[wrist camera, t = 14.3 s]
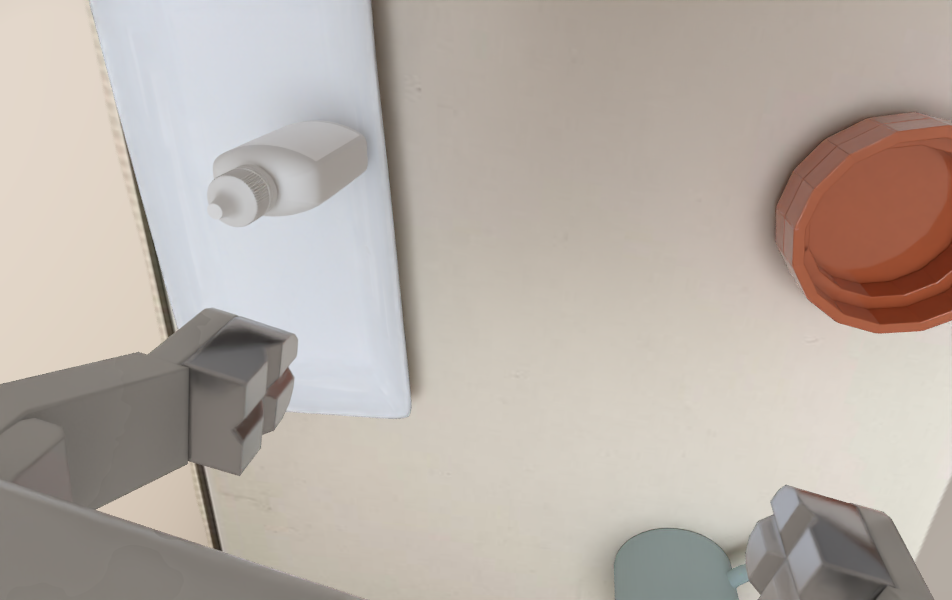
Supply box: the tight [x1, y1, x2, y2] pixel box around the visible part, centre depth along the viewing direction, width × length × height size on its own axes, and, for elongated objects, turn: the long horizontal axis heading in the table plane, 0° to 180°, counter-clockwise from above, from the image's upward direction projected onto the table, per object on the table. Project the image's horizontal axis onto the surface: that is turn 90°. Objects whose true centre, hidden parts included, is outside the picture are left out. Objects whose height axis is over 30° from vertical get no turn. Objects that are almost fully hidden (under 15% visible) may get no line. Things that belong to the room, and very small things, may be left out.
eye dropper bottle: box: [207, 120, 368, 227], centre depth 32 cm, size 4×6×12 cm
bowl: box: [775, 112, 952, 333], centre depth 35 cm, size 11×11×4 cm
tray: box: [89, 0, 412, 419], centre depth 41 cm, size 17×32×4 cm, turn 2°
